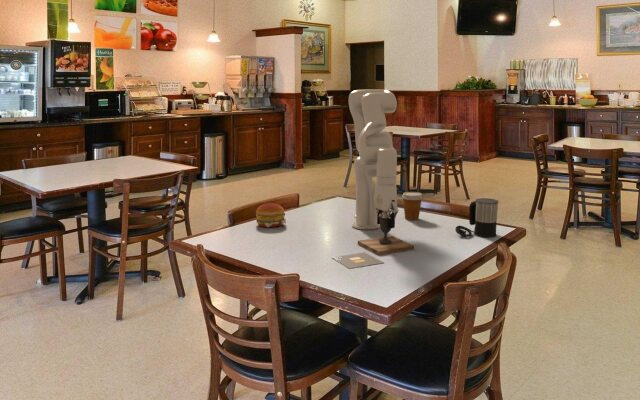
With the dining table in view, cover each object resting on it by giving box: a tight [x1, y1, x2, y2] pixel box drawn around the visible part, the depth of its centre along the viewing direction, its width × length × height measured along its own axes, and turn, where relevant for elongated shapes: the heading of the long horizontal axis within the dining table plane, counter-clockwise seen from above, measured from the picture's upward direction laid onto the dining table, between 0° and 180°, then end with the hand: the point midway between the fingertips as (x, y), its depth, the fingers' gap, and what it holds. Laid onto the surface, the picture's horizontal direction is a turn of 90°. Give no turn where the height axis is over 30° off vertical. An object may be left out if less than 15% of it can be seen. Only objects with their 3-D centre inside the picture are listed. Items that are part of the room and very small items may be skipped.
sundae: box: [378, 211, 392, 243], centre depth 223 cm, size 7×7×15 cm
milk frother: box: [454, 197, 500, 238], centre depth 239 cm, size 14×16×15 cm
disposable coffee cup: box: [401, 191, 423, 221], centre depth 268 cm, size 10×10×12 cm
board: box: [357, 235, 415, 256], centre depth 225 cm, size 16×16×2 cm
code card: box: [336, 251, 385, 269], centre depth 208 cm, size 14×14×1 cm
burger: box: [255, 202, 287, 228], centre depth 259 cm, size 13×14×10 cm
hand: (385, 225), depth 223 cm, fingers open, 6 cm apart
